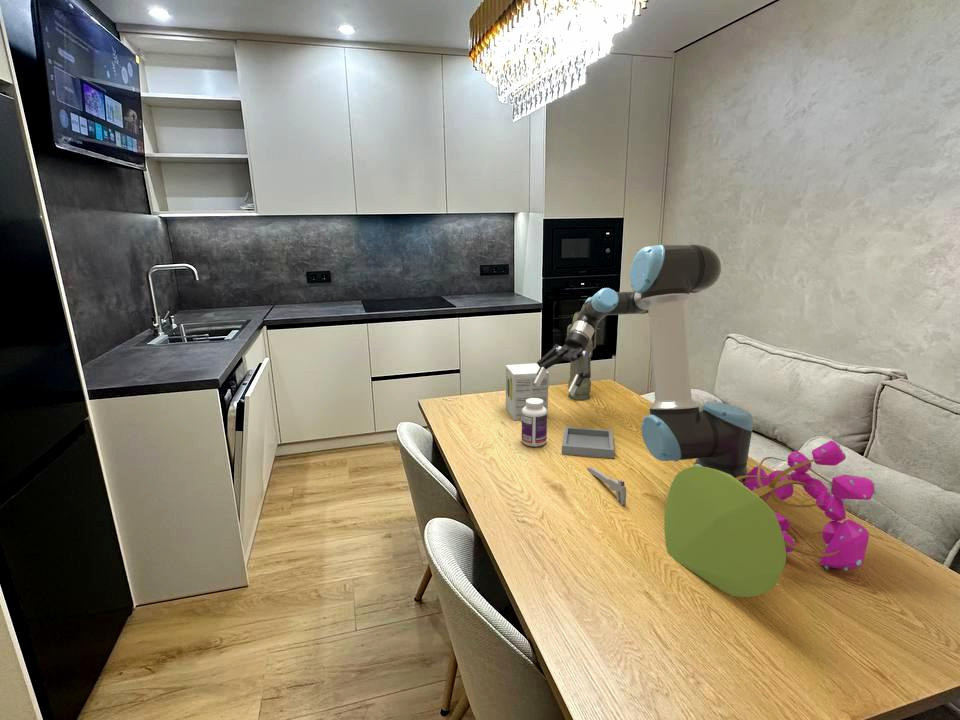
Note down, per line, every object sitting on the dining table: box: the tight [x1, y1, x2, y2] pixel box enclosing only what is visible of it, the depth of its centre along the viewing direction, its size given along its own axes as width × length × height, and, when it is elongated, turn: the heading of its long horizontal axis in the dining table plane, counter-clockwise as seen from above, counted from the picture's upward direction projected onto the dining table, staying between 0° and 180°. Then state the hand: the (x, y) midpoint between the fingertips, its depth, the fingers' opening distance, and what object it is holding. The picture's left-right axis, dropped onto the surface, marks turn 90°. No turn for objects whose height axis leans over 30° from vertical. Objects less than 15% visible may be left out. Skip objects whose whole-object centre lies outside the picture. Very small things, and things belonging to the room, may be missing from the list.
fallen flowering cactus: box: [663, 440, 878, 598], centre depth 103 cm, size 30×28×35 cm
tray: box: [561, 426, 615, 459], centre depth 158 cm, size 15×15×3 cm
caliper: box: [586, 466, 627, 506], centre depth 133 cm, size 20×1×6 cm, turn 13°
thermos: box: [566, 311, 598, 402], centre depth 199 cm, size 9×12×35 cm
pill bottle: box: [521, 398, 548, 448], centre depth 159 cm, size 8×8×14 cm
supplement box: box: [505, 362, 550, 421], centre depth 185 cm, size 13×13×18 cm
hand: (552, 389), depth 165 cm, fingers open, 13 cm apart
